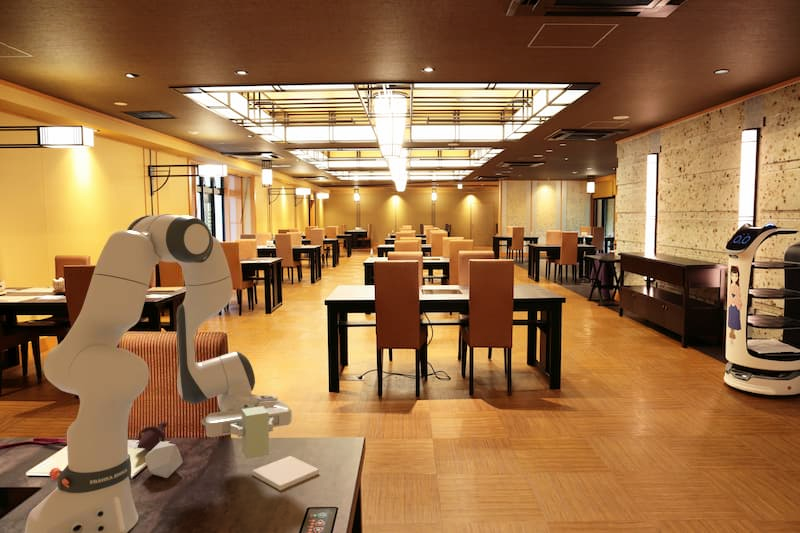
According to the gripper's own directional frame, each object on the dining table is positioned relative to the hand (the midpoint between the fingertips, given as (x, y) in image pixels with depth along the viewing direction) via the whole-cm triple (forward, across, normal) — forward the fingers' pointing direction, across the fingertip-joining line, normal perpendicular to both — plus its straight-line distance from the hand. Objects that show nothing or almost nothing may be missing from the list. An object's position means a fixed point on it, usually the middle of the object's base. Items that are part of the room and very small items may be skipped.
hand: (256, 430), depth 125 cm
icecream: (-42, -20, +17) cm, 49 cm away
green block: (-1, 0, +6) cm, 6 cm away
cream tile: (-10, +10, +16) cm, 22 cm away
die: (-24, -18, +17) cm, 34 cm away
